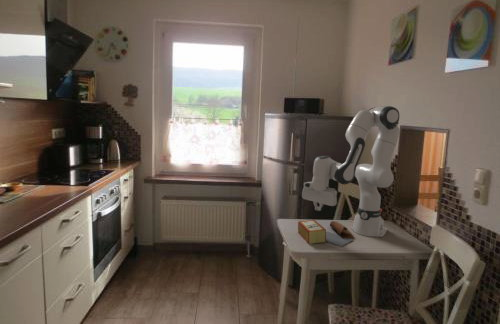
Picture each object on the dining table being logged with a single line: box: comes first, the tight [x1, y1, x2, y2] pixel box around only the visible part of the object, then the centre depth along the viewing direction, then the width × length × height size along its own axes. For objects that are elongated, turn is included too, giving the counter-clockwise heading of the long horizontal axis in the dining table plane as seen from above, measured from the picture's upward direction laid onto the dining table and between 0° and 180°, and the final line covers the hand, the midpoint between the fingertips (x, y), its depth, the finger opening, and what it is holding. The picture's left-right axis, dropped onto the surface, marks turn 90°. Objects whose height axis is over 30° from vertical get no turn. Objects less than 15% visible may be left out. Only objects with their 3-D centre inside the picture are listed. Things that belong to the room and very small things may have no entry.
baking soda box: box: [297, 219, 327, 245], centre depth 177 cm, size 10×6×16 cm
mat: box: [325, 231, 354, 248], centre depth 178 cm, size 13×16×1 cm
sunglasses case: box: [329, 220, 355, 239], centre depth 188 cm, size 18×7×7 cm, turn 6°
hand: (317, 210), depth 183 cm, fingers closed
